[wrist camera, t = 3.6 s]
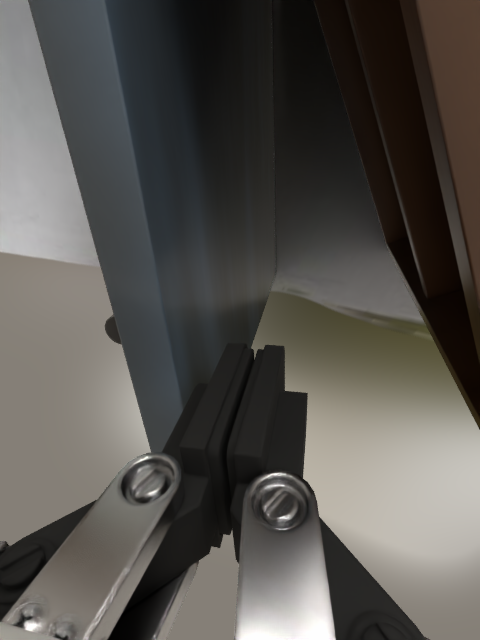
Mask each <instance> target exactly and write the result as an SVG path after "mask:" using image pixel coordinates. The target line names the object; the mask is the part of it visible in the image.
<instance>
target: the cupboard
mask: <svg viewBox="0 0 480 640" xmlns="http://www.w3.org/2000/svg"><path fill="white" fill-rule="evenodd" d="M313 1H314V5H315V8H316V11H317V15H318V18H319V21H320V25H321V28H322V31H323V35H324V38H325V41H326V45H327V48H328V51H329V55H330V58H331V62H332V65H333V68H334V72H335V75H336V78H337V82H338V85H339V88H340V92H341V95H342V98H343V102H344V105H345V108H346V112H347V115H348V119H349V122H350V125H351V129H352V132H353V135H354V139H355V142H356V145H357V149H358V152H359V155H360V159H361V162H362V165H363V169H364V172H365V176H366V179H367V182H368V186H369V189H370V192H371V196H372V199H373V202H374V206H375V209H376V212H377V216H378V219H379V222H380V226H381V229H382V232H383V236H384V239H385V243H386V246H387V249H388V252H389V254H390V256H391V258H392V260H393V262H394V263H395V265H396V267H397V269H398V271H399V273H400V275H401V277H402V279H403V281H404V283H405V285H406V287H407V289H408V291H409V293H410V295H411V297H412V299H413V301H414V302H415V304H416V306H417V308H418V310H419V312H420V314H421V316H422V318H423V320H424V322H425V324H426V326H427V328H428V330H429V332H430V334H431V336H432V338H433V340H434V341H435V343H436V345H437V347H438V349H439V351H440V353H441V355H442V357H443V359H444V361H445V363H446V365H447V367H448V369H449V371H450V372H451V375H452V377H453V378H454V380H455V382H456V384H457V386H458V388H459V390H460V392H461V394H462V396H463V398H464V400H465V402H466V404H467V406H468V408H469V410H470V411H471V414H472V416H473V417H474V419H475V421H476V423H477V425H478V427H479V429H480V0H313Z"/></svg>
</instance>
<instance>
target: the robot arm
mask: <svg viewBox="0 0 480 640" xmlns="http://www.w3.org/2000/svg"><path fill="white" fill-rule="evenodd" d="M284 360H285V350H284V346H275V345H265V347H264V350H261V349H258V351H257V354H256V357H255V360H254V350H253V349H248V347H247V344H244V343H228V344H227V345H226V347H225V350H224V352H223V354H222V356H221V358H220V360H219V362H218V364H217V366H216V369H215V371H214V373H213V375H212V377H211V379H210V381H209V383H208V384H204V383H199V384H197V385H196V387H195V388H194V390H193V392H192V394H191V396H190V398H189V400H188V402H187V404H186V406H185V408H184V410H183V412H182V414H181V416H180V417H179V419H178V421H177V423H176V425H175V427H174V429H173V431H172V433H171V435H170V437H169V439H168V441H167V443H166V445H165V446H164V448H163V450H162V452H152V453H146V454H143V455H141V456H138V457H137V458H135V459H133V460H132V461H130V462H128V463H127V464H126V465H125V466H124V467H123V468H122V469H121V471H120V472H119V473H118V474H117V475H116V477H115V478H114V479H113V481H112V482H111V483H110V484H109V486H108V487H107V488H106V489H105V491H104V492H103V493H102V495H101V496H100V497H99V498H98V499H97V500H95V501H94V502H92V503H90V504H88V505H86V506H84V507H82V508H80V509H78V510H76V511H74V512H72V513H70V514H68V515H66V516H65V517H63V518H61V519H59V520H57V521H55V522H53V523H51V524H49V525H47V526H45V527H43V528H41V529H40V530H38V531H36V532H34V533H32V534H30V535H28V536H26V537H24V538H22V539H21V540H19V541H18V542H16V543H15V544H13V545H12V546H9V545H8V544H7V542H6V541H0V640H167V637H168V635H169V633H170V631H171V628H172V626H173V624H174V621H175V619H176V617H177V614H178V612H179V610H180V608H181V606H182V603H183V601H184V599H185V596H186V594H187V592H188V589H189V587H190V585H191V583H192V580H193V578H194V576H195V573H196V570H197V567H198V564H199V560H200V559H202V558H203V557H205V556H206V555H208V554H209V552H210V549H211V546H213V547H218V548H220V546H221V542H222V538H223V534H226V535H230V534H231V531H232V530H233V538H234V547H235V555H236V560H237V562H238V563H239V575H238V588H237V604H236V605H237V606H236V619H235V635H234V640H430V639H427V638H426V637H424V636H423V635H422V634H421V632H420V631H419V629H418V628H417V626H416V625H415V624H414V623H413V622H412V621H411V620H410V619H409V617H408V616H407V615H406V614H405V613H404V612H403V611H402V610H401V609H400V607H399V606H398V605H397V604H396V603H395V602H394V601H393V599H392V598H391V597H390V596H389V595H388V594H387V593H386V591H385V590H384V589H383V588H382V587H381V586H380V585H379V584H378V583H377V581H376V580H375V579H374V578H373V577H372V576H371V575H370V573H369V572H368V571H367V570H366V569H365V568H364V567H363V566H362V564H361V563H360V562H359V561H358V560H357V559H356V558H355V557H354V555H353V554H352V553H351V552H350V551H349V550H348V549H347V548H346V546H345V545H344V544H343V543H342V542H341V541H340V540H339V538H338V537H337V536H336V535H335V534H334V533H333V532H332V531H331V529H330V528H329V527H328V526H327V525H326V524H325V523H324V522H323V520H322V519H321V518H320V517H319V514H318V506H317V500H316V497H315V494H314V491H313V490H312V488H311V487H310V485H309V484H308V482H307V481H305V480H304V479H303V468H304V453H305V438H306V420H307V393H301V392H289V391H285V361H284Z"/></svg>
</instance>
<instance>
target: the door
mask: <svg viewBox="0 0 480 640" xmlns="http://www.w3.org/2000/svg"><path fill="white" fill-rule="evenodd" d="M28 2H29V5H30V9H31V13H32V16H33V20H34V24H35V27H36V31H37V35H38V38H39V42H40V46H41V49H42V53H43V57H44V60H45V64H46V68H47V72H48V75H49V79H50V83H51V86H52V90H53V94H54V97H55V101H56V105H57V108H58V112H59V116H60V119H61V123H62V127H63V130H64V134H65V138H66V141H67V145H68V149H69V152H70V156H71V160H72V163H73V167H74V171H75V174H76V178H77V182H78V185H79V189H80V193H81V196H82V200H83V204H84V207H85V211H86V215H87V218H88V222H89V226H90V229H91V233H92V237H93V240H94V244H95V248H96V251H97V255H98V259H99V262H100V266H101V269H102V273H103V277H104V280H105V284H106V288H107V292H108V295H109V299H110V302H111V306H112V310H113V313H114V314H113V315H112V316H111V317H110V318H109V319H108V320H107V321H106V324H105V330H106V333H107V335H108V336H109V337H110V338H111V339H112V340H113V341H114V342H116V343H119V344H122V347H123V350H124V354H125V357H126V361H127V365H128V369H129V372H130V376H131V380H132V383H133V387H134V390H135V394H136V398H137V402H138V405H139V409H140V413H141V416H142V420H143V424H144V427H145V431H146V434H147V438H148V442H149V446H150V449H151V453H152V452H162V450H163V448H164V446H165V445H166V443H167V441H168V439H169V437H170V435H171V433H172V431H173V429H174V427H175V425H176V423H177V421H178V419H179V417H180V416H181V414H182V412H183V410H184V408H185V406H186V404H187V402H188V400H189V398H190V396H191V394H192V392H193V390H194V388H195V387H196V385H197V384H199V383H204V384H208V383H209V381H210V379H211V377H212V375H213V373H214V371H215V369H216V366H217V364H218V362H219V360H220V358H221V356H222V354H223V352H224V350H225V347H226V345H227V344H228V343H244V344H247V347H248V349H251V346H252V343H253V340H254V337H255V334H256V331H257V328H258V325H259V322H260V319H261V317H262V314H263V311H264V308H265V305H266V302H267V299H268V296H269V293H270V290H271V287H272V284H273V281H274V278H275V275H276V234H275V170H274V106H273V42H272V0H28Z"/></svg>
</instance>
